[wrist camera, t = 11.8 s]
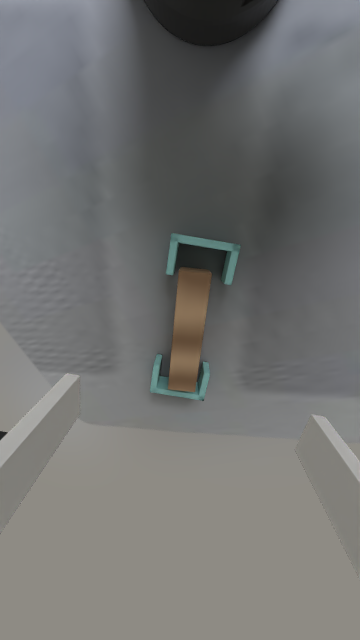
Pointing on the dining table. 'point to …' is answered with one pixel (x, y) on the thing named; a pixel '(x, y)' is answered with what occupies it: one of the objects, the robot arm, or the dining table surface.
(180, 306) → the batten
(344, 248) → the dining table surface
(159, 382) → the pair of teal brackets
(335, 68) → the dining table surface
